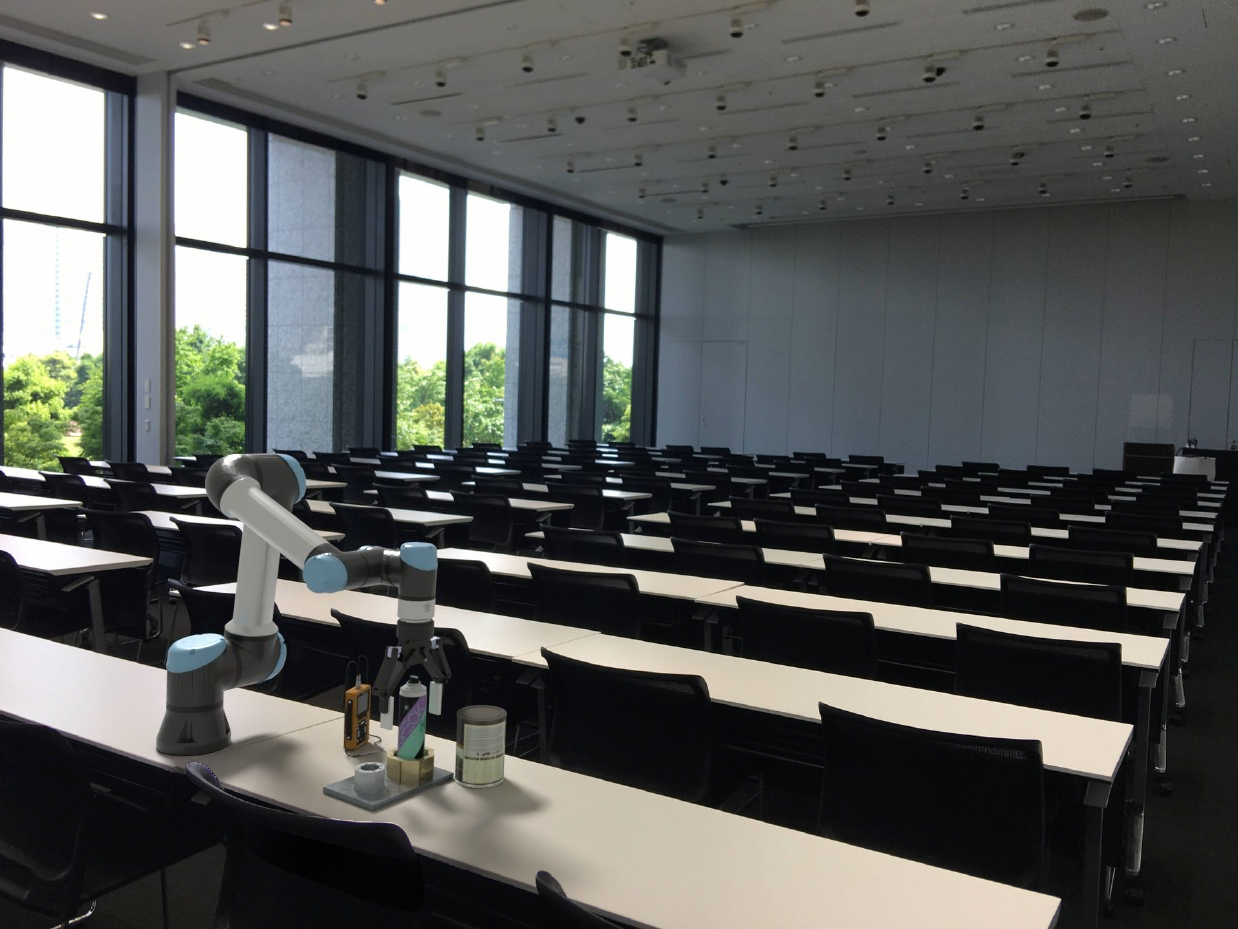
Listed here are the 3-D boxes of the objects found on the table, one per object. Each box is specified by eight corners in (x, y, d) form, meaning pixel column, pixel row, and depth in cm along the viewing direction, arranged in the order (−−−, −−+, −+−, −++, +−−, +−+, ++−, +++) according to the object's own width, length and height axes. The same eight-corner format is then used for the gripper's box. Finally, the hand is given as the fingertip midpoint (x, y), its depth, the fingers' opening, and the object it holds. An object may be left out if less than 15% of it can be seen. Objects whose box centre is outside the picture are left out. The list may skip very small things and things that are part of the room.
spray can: (394, 769, 201) (397, 673, 200) (420, 766, 203) (424, 672, 203) (399, 778, 196) (403, 680, 195) (426, 775, 198) (430, 678, 198)
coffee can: (443, 780, 200) (446, 712, 199) (478, 766, 208) (480, 702, 207) (480, 792, 194) (482, 723, 193) (514, 778, 202) (517, 712, 202)
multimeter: (377, 760, 209) (380, 669, 208) (334, 755, 211) (337, 664, 210) (405, 739, 223) (408, 653, 223) (365, 735, 225) (368, 649, 225)
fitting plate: (323, 792, 190) (323, 766, 190) (405, 763, 208) (406, 739, 208) (372, 811, 182) (373, 784, 182) (453, 778, 201) (454, 753, 200)
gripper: (382, 631, 186) (377, 739, 187) (471, 613, 207) (466, 711, 208) (355, 624, 190) (351, 731, 191) (445, 607, 211) (440, 703, 212)
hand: (411, 721), depth 200 cm, fingers open, 13 cm apart
